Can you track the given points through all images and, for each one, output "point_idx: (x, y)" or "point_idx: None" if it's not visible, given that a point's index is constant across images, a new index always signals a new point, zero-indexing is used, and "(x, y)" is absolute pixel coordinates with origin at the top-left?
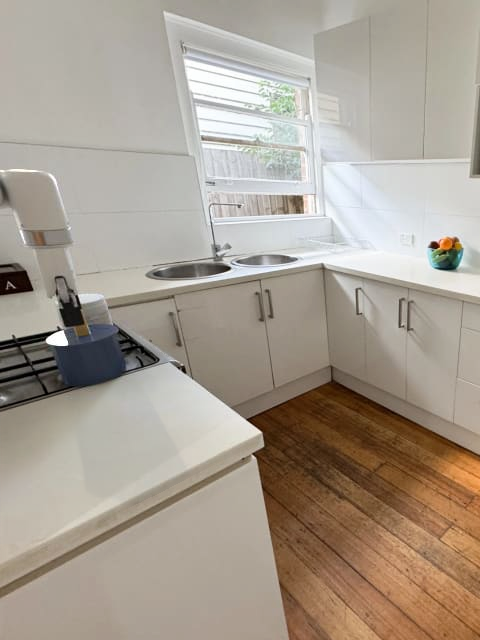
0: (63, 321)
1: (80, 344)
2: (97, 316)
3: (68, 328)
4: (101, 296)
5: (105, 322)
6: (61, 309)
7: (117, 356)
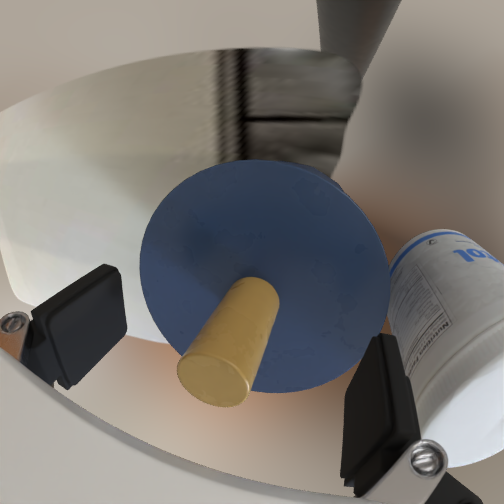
0: (85, 276)
1: (141, 256)
2: None
3: (458, 279)
4: (453, 465)
5: None
6: (36, 319)
7: None
